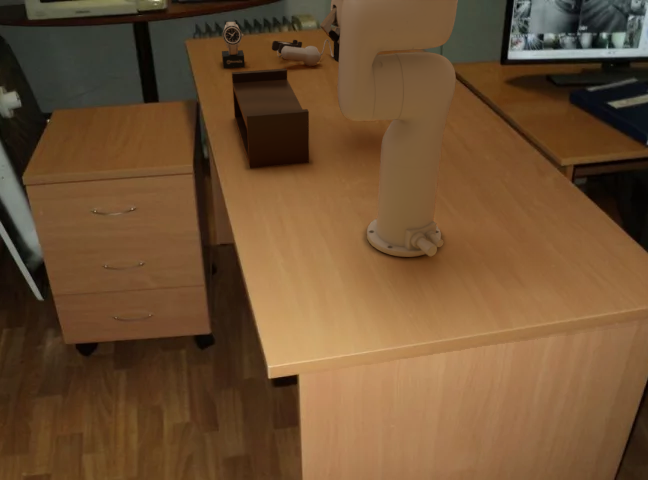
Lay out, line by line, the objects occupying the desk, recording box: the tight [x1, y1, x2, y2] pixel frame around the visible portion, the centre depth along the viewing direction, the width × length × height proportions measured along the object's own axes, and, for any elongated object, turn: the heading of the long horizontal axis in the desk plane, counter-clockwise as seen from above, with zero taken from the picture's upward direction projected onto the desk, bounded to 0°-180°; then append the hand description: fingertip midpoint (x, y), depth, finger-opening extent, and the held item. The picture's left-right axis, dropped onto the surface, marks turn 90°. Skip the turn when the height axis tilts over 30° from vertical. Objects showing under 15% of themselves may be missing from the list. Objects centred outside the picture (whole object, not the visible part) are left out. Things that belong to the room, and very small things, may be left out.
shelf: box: [231, 67, 310, 169], centre depth 153 cm, size 24×12×11 cm, turn 13°
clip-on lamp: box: [271, 38, 334, 67], centre depth 195 cm, size 12×6×18 cm
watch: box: [221, 21, 246, 69], centre depth 190 cm, size 6×8×11 cm
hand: (355, 58), depth 149 cm, fingers closed on gaming mouse, 6 cm apart
